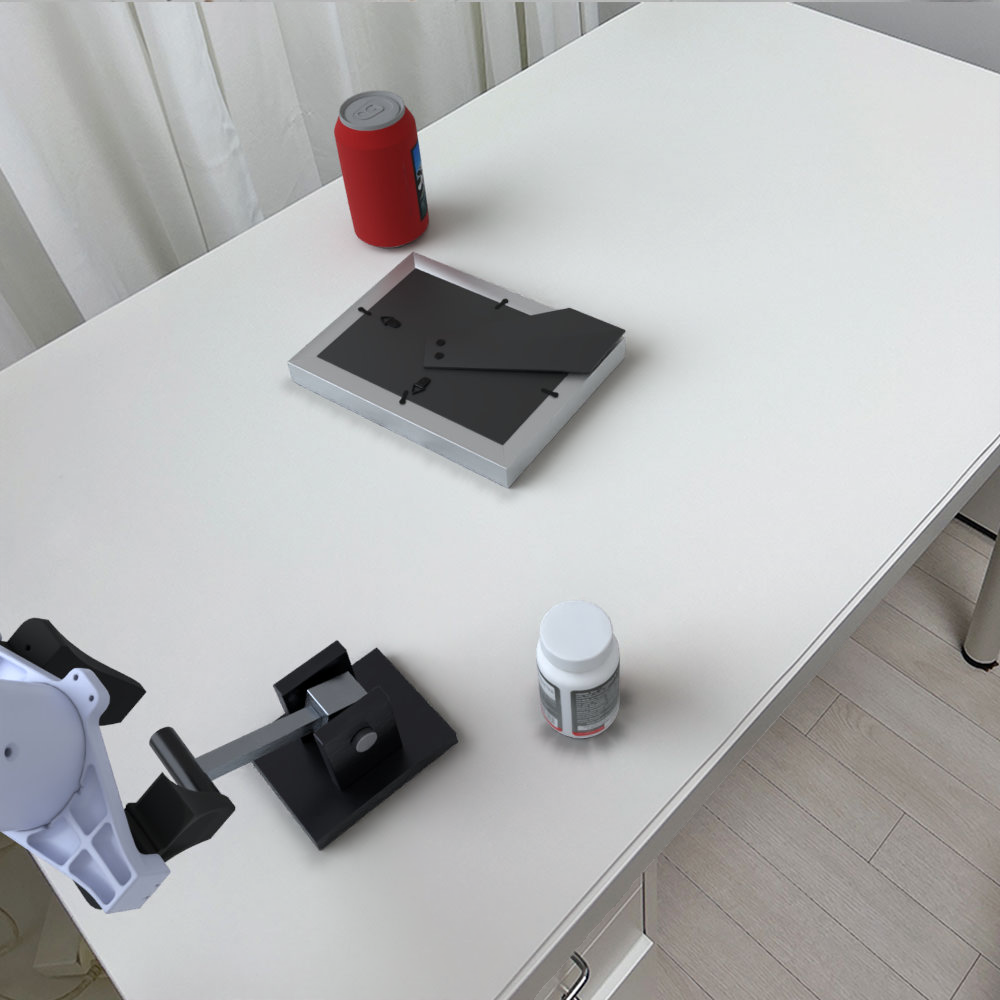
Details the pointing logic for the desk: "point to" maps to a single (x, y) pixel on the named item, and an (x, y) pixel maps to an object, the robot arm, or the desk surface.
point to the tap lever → (254, 736)
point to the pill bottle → (578, 669)
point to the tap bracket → (352, 744)
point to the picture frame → (460, 365)
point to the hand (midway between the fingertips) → (173, 758)
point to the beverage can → (382, 169)
